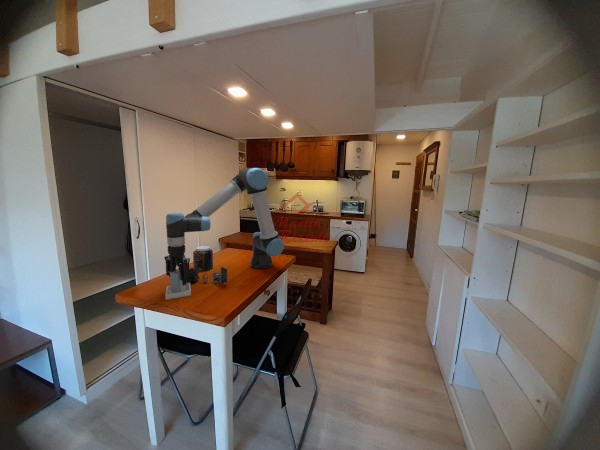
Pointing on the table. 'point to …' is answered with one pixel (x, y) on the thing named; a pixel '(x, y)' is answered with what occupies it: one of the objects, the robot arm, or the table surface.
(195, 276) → the fruit
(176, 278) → the block
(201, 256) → the jar
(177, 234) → the robot arm
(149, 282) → the table surface
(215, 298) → the table surface
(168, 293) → the tray
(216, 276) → the crank
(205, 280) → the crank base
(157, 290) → the table surface
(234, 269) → the table surface
